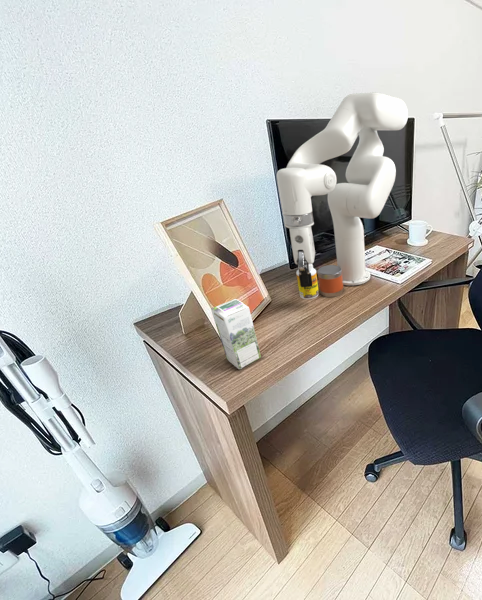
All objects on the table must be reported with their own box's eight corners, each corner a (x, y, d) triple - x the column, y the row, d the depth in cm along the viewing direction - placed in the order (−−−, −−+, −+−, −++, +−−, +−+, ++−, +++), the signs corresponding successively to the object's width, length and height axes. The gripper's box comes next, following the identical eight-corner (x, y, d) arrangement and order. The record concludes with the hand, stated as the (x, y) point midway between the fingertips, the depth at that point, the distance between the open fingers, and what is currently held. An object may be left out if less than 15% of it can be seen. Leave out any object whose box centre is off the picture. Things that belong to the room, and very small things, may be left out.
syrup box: (249, 348, 80) (234, 297, 73) (262, 358, 77) (248, 305, 69) (227, 360, 76) (209, 307, 69) (239, 371, 73) (222, 316, 66)
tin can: (320, 287, 108) (317, 265, 104) (343, 285, 109) (341, 264, 105) (319, 298, 102) (316, 275, 98) (343, 296, 102) (341, 273, 98)
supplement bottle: (304, 302, 92) (299, 269, 87) (297, 294, 97) (291, 262, 92) (322, 297, 95) (318, 264, 90) (314, 289, 99) (310, 258, 94)
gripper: (311, 227, 78) (319, 294, 86) (315, 210, 93) (321, 268, 101) (278, 229, 77) (290, 296, 86) (288, 211, 92) (297, 270, 101)
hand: (307, 280), depth 93 cm, fingers closed on supplement bottle, 5 cm apart
